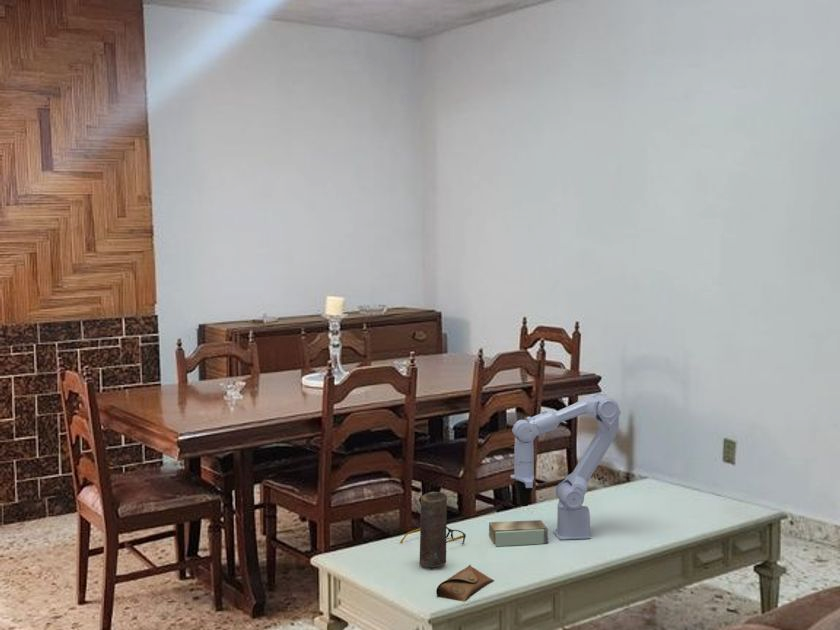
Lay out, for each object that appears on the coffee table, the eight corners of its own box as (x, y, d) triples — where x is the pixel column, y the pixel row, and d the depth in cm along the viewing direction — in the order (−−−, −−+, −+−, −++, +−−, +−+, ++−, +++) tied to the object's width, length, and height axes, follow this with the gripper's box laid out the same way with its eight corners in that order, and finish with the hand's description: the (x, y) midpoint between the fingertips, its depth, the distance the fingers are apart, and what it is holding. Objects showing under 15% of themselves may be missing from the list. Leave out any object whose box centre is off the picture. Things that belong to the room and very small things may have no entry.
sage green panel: (547, 542, 289) (547, 528, 289) (548, 543, 288) (548, 529, 288) (495, 545, 287) (495, 531, 286) (496, 546, 286) (496, 532, 286)
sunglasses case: (466, 602, 244) (453, 577, 245) (444, 611, 247) (432, 587, 248) (496, 579, 259) (484, 556, 261) (475, 589, 263) (464, 566, 264)
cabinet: (541, 533, 298) (541, 520, 298) (547, 542, 290) (547, 528, 290) (489, 535, 296) (489, 522, 296) (494, 544, 288) (494, 530, 288)
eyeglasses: (468, 546, 288) (468, 533, 288) (431, 557, 279) (431, 543, 279) (435, 535, 299) (435, 522, 299) (399, 545, 290) (399, 531, 289)
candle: (452, 566, 270) (452, 494, 268) (433, 572, 265) (433, 500, 263) (432, 559, 276) (432, 489, 274) (414, 565, 271) (413, 494, 269)
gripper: (505, 455, 299) (505, 499, 300) (516, 467, 284) (515, 513, 286) (528, 454, 300) (528, 498, 301) (539, 466, 285) (539, 512, 287)
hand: (523, 505), depth 293 cm, fingers closed
